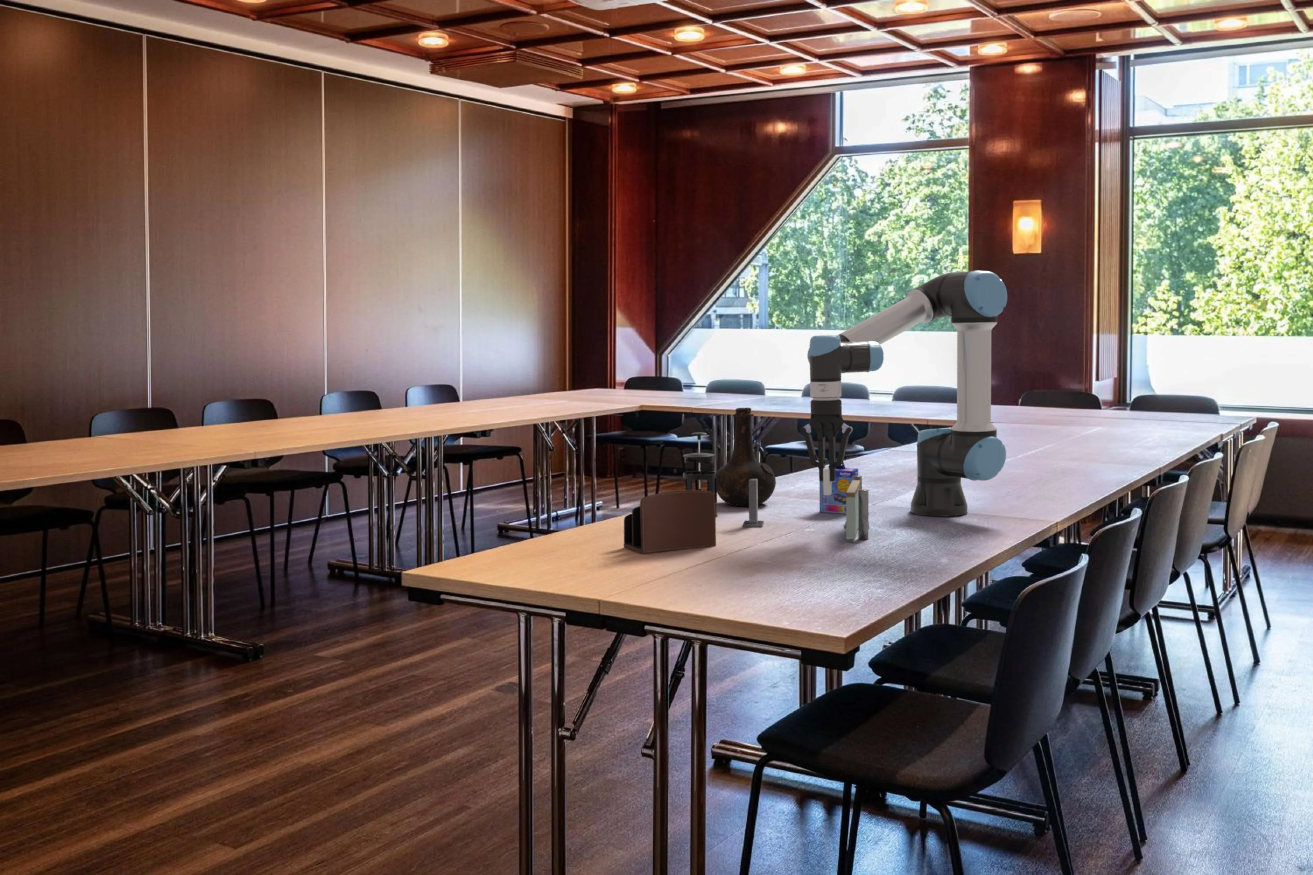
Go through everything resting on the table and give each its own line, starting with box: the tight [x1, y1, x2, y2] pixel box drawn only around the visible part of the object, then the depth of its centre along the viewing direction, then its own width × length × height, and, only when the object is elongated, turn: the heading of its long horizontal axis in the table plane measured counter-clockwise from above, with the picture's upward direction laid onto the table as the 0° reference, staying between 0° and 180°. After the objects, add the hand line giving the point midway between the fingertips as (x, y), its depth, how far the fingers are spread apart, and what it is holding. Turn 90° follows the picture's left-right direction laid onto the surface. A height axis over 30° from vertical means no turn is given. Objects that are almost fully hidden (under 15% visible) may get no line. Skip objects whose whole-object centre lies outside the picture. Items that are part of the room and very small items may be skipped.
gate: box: [845, 480, 861, 540], centre depth 304 cm, size 22×2×11 cm, turn 167°
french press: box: [682, 431, 718, 518], centre depth 337 cm, size 12×9×23 cm
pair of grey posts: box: [742, 475, 870, 541], centre depth 311 cm, size 32×22×13 cm
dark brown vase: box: [716, 407, 777, 507], centre depth 357 cm, size 18×18×28 cm
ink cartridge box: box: [818, 461, 859, 515], centre depth 340 cm, size 10×6×14 cm, turn 64°
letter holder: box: [623, 489, 717, 555], centre depth 293 cm, size 10×20×14 cm, turn 117°
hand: (827, 494), depth 304 cm, fingers closed
